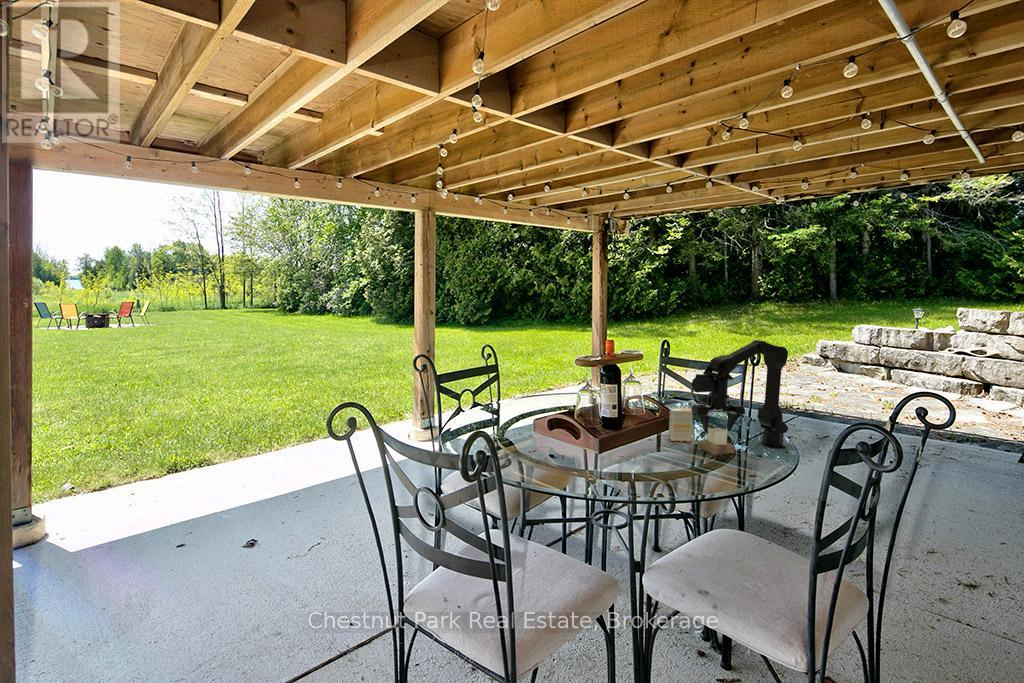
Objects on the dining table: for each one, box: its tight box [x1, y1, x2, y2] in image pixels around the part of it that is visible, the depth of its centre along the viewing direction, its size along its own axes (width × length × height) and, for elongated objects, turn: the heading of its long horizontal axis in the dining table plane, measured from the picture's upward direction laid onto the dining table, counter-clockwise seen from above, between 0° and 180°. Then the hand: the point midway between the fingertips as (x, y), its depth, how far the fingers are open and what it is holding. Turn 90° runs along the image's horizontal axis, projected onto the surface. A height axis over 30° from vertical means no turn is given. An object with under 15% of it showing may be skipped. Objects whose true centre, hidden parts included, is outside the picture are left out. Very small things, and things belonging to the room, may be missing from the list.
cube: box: [706, 427, 728, 445], centre depth 194 cm, size 5×5×5 cm
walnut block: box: [698, 439, 736, 456], centre depth 195 cm, size 9×9×4 cm
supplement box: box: [668, 407, 694, 443], centre depth 207 cm, size 8×5×13 cm, turn 84°
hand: (717, 431), depth 194 cm, fingers open, 9 cm apart
